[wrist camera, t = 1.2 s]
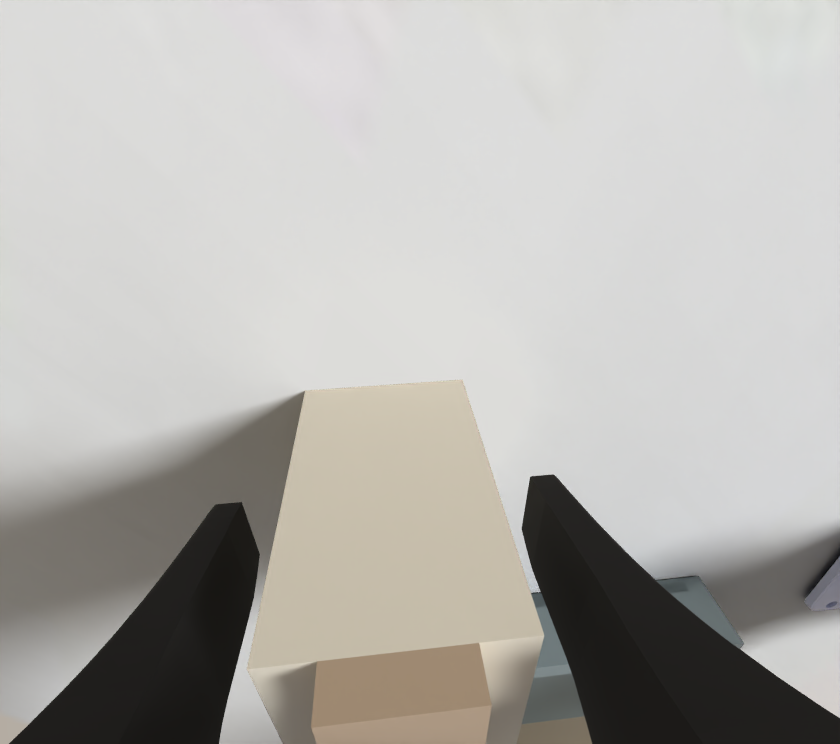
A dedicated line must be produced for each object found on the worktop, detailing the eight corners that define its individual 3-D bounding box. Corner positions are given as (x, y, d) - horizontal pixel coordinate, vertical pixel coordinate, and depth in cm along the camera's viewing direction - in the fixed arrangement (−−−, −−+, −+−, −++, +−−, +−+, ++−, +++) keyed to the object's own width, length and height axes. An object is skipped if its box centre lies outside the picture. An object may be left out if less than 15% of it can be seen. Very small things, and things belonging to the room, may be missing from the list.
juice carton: (462, 379, 13) (563, 696, 6) (458, 487, 15) (527, 798, 8) (305, 390, 12) (232, 737, 6) (326, 499, 15) (292, 832, 8)
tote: (698, 576, 19) (744, 643, 17) (604, 749, 30) (624, 805, 28) (377, 609, 18) (378, 686, 16) (399, 776, 29) (401, 836, 27)
